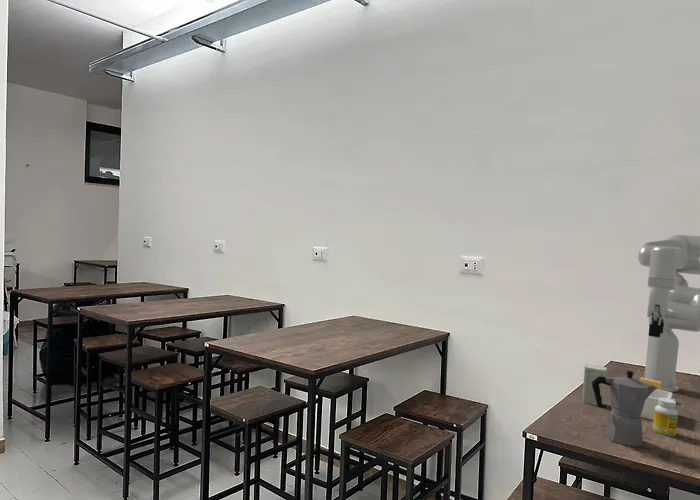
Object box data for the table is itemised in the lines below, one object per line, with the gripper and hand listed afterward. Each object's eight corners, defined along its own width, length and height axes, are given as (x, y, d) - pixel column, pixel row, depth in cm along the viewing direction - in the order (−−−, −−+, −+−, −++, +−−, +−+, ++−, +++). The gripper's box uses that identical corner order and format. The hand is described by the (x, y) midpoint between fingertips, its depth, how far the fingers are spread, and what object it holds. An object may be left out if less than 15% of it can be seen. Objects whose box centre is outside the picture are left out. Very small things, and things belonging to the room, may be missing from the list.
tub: (618, 402, 160) (620, 381, 160) (670, 415, 152) (672, 392, 152) (612, 412, 151) (614, 389, 151) (666, 425, 142) (669, 401, 142)
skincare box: (604, 406, 156) (608, 367, 156) (603, 410, 152) (607, 370, 152) (582, 401, 159) (586, 363, 159) (580, 404, 155) (584, 366, 155)
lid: (624, 392, 174) (626, 373, 174) (675, 404, 165) (677, 384, 165) (618, 401, 163) (620, 381, 163) (672, 414, 155) (674, 393, 154)
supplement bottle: (658, 429, 139) (661, 395, 139) (679, 437, 135) (683, 402, 134) (648, 432, 136) (652, 398, 136) (669, 440, 132) (673, 404, 131)
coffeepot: (644, 436, 133) (651, 369, 132) (658, 451, 124) (666, 379, 123) (582, 427, 136) (589, 362, 136) (591, 440, 127) (598, 371, 126)
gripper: (650, 281, 175) (645, 329, 176) (644, 283, 161) (639, 336, 162) (676, 284, 171) (671, 333, 171) (672, 286, 157) (666, 340, 158)
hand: (655, 334), depth 167 cm, fingers open, 9 cm apart
